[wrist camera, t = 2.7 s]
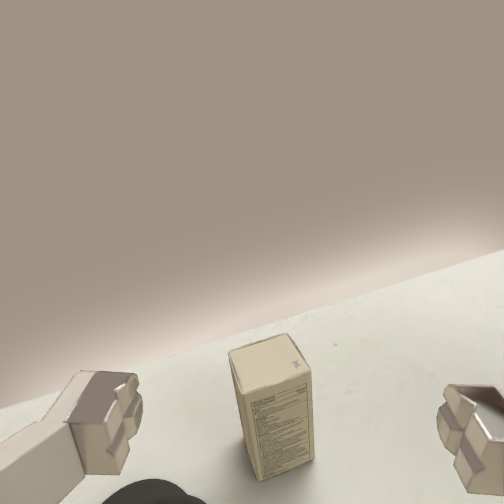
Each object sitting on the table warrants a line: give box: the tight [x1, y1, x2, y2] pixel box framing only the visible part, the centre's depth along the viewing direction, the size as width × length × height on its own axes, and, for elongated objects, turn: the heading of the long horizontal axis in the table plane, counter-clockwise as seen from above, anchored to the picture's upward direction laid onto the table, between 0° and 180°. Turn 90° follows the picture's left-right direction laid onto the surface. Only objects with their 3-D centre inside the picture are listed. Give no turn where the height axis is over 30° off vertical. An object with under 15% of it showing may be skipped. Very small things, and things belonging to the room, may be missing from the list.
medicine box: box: [228, 333, 314, 481], centre depth 26 cm, size 5×4×10 cm
